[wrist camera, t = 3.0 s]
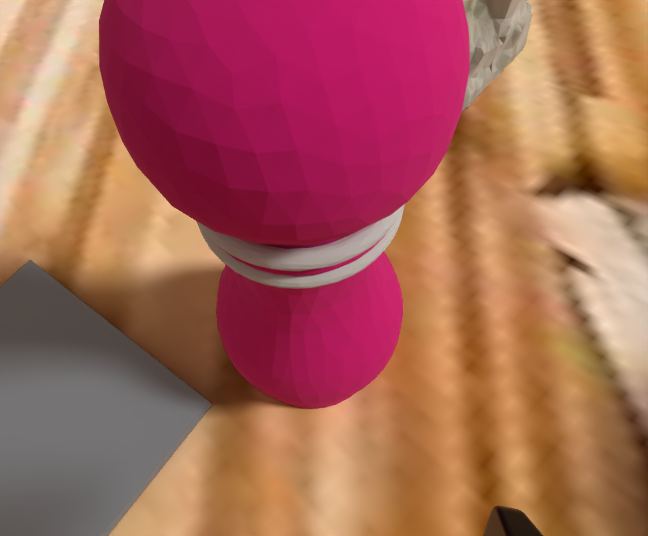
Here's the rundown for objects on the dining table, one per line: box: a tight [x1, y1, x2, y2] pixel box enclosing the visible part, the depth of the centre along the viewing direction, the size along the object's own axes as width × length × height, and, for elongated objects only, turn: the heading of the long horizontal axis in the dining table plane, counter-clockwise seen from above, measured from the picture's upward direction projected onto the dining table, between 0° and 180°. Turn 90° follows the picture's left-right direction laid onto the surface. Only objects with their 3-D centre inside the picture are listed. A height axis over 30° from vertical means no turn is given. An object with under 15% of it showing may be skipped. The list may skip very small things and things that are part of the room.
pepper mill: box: [99, 0, 470, 409], centre depth 13 cm, size 7×7×20 cm
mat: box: [0, 260, 212, 536], centre depth 20 cm, size 12×12×1 cm
